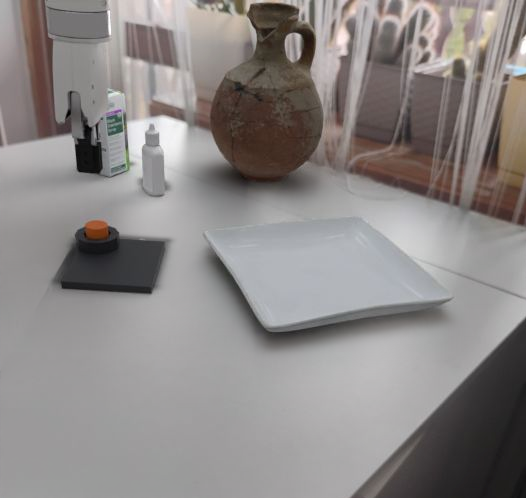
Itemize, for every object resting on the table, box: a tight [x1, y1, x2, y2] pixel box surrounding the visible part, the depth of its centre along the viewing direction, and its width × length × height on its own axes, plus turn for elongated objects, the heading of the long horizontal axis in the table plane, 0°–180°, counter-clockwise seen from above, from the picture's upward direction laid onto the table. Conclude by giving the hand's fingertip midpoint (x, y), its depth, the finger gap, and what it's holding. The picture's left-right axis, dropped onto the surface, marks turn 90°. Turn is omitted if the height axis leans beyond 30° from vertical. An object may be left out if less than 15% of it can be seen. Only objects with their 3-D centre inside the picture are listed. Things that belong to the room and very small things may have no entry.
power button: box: [84, 219, 109, 239], centre depth 91 cm, size 3×3×2 cm
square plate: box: [202, 215, 455, 333], centre depth 89 cm, size 27×27×4 cm
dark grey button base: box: [60, 225, 166, 295], centre depth 89 cm, size 12×14×3 cm
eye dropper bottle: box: [141, 122, 166, 197], centre depth 111 cm, size 4×6×12 cm
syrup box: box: [98, 88, 131, 178], centre depth 117 cm, size 6×6×14 cm
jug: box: [209, 1, 325, 183], centre depth 117 cm, size 22×22×30 cm
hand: (90, 171), depth 87 cm, fingers closed
